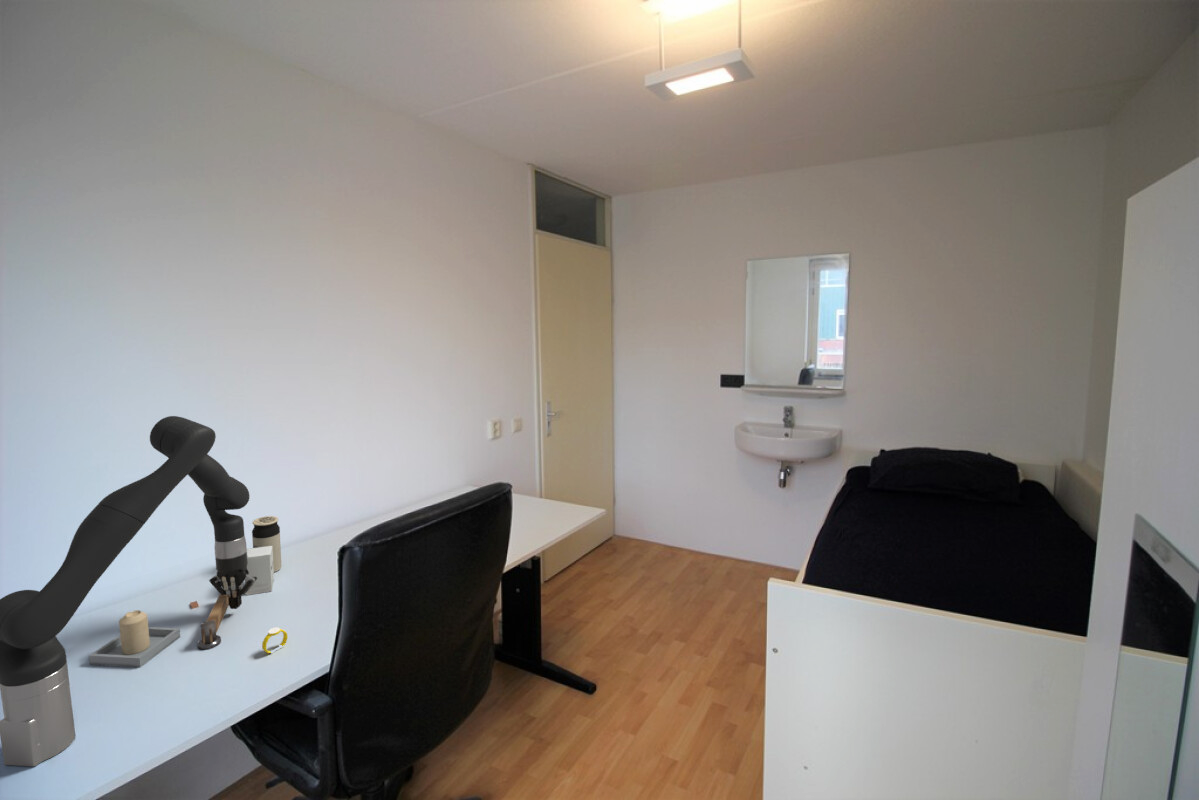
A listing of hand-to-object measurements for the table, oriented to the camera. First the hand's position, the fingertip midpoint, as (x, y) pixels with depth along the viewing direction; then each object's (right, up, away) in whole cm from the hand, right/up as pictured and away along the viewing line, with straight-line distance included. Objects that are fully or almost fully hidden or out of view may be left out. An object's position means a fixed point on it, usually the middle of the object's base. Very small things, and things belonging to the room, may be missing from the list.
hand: (235, 607), depth 156 cm
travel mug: (-7, +2, +27) cm, 28 cm away
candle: (-14, -4, -18) cm, 23 cm away
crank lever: (-2, -2, -4) cm, 5 cm away
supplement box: (-2, 0, +15) cm, 16 cm away
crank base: (-6, -3, -5) cm, 8 cm away
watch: (+21, -6, -14) cm, 26 cm away
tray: (-14, -4, -17) cm, 23 cm away
